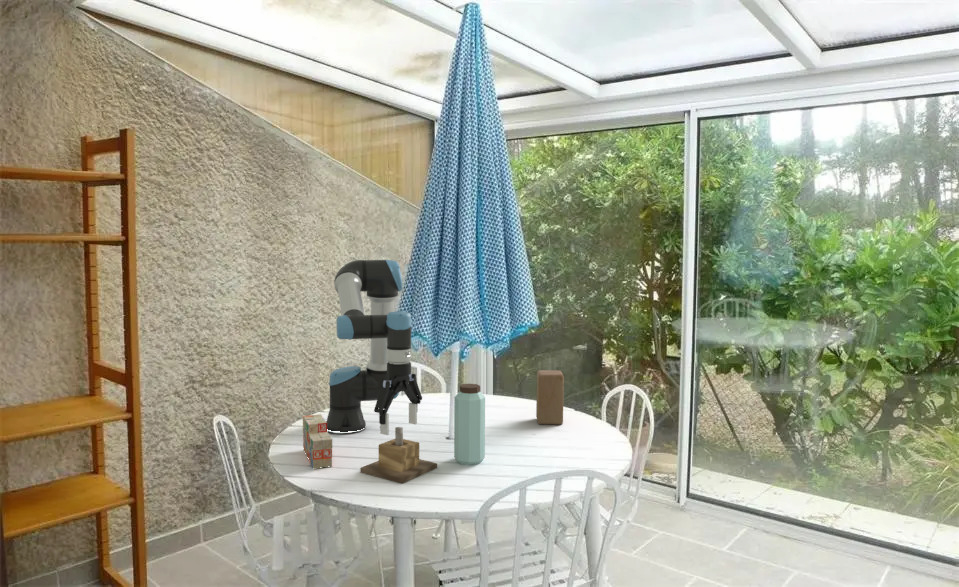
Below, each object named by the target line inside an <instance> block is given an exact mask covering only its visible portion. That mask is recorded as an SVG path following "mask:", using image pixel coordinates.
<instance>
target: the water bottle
mask: <svg viewBox="0 0 959 587" xmlns="http://www.w3.org/2000/svg"><path fill="white" fill-rule="evenodd" d="M453 398H454V406H453V407H454V409H453V413H454V416H453V417H454V418H453V419H454V420H453V422H454V423H453V424H454V426H453V427H454V428H453V434H454V436H453V437H454V438H453V439H454V442H453V445H454V446H453V448H454V450H453V451H454V453H453V457H454V459H455V460H456V462H457V463H459V465H466V466H473V465H479V464H481V463H482V462H483V461H484V459H485V458H486V457H485V456H486V448H485V447H486V446H485V445H486V443H485V442H486V396H485V395H484V394H483V393H482V392H481V385H480V384H477V383H463V384H460V385H459V391H458V393H456V395H455V396H454V397H453Z"/></svg>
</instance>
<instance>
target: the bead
mask: <svg viewBox="0 0 959 587" xmlns="http://www.w3.org/2000/svg"><path fill="white" fill-rule="evenodd" d="M419 459H420V442H418V441H414V440H409V439H405V438H403V446H400V447H399V446H395V438H393V439H391V440H388V441H385V442H383V443H382V442H381V443H380V444H378V461H379V467H382V468H386V469H390V470H394V471H398V472H403V471H405V470H407V469H410V468H412V467H414V466H416V465H419Z"/></svg>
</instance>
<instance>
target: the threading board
mask: <svg viewBox="0 0 959 587" xmlns="http://www.w3.org/2000/svg"><path fill="white" fill-rule="evenodd" d="M394 430H395V431H394V432H395V433H394V434H395V437H394V439H395V446H399V447H400V446H403V439H404V427H402V426H397V427H395V429H394ZM436 469H438V462H433V461H430V460H429V461H428V460H424V459H421V458H419V465H416V466H414V467H412V468H410V469H407V470H405V471H403V472H398V471H394V470H390V469H386V468H382V467H379V460H376V461H373V462H372V463H369V464H366V465H365V466H361V467H360V468H359V471H360V473H361V474H365V475H369V476H373V477H376V478H379V479H384V480H387V481H391V482H395V483H399V484H401V485H402V484H404V483H407V482H409V481H411V480H414V479H416V478H419V477H420V476H423V475H425V474H427V473H429V472H432V471H433V470H436Z"/></svg>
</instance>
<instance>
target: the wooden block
mask: <svg viewBox="0 0 959 587" xmlns="http://www.w3.org/2000/svg"><path fill="white" fill-rule="evenodd" d="M564 378H565V376H564V374H563V372H562V371H561V370H559V369H558V370H555V369H554V370H553V369H551V370H549V369H548V370H546V369H545V370H544V369H543V370H540V369H539V370H537V371H536V408H535V410H536V411H535V412H536V413H535V415H536V421H537V424H539V425H551V426H552V425H559V426H560V425H562V424H563V423H564V392H565V391H564V389H565V388H564V387H565V386H564V384H565V379H564Z"/></svg>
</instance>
